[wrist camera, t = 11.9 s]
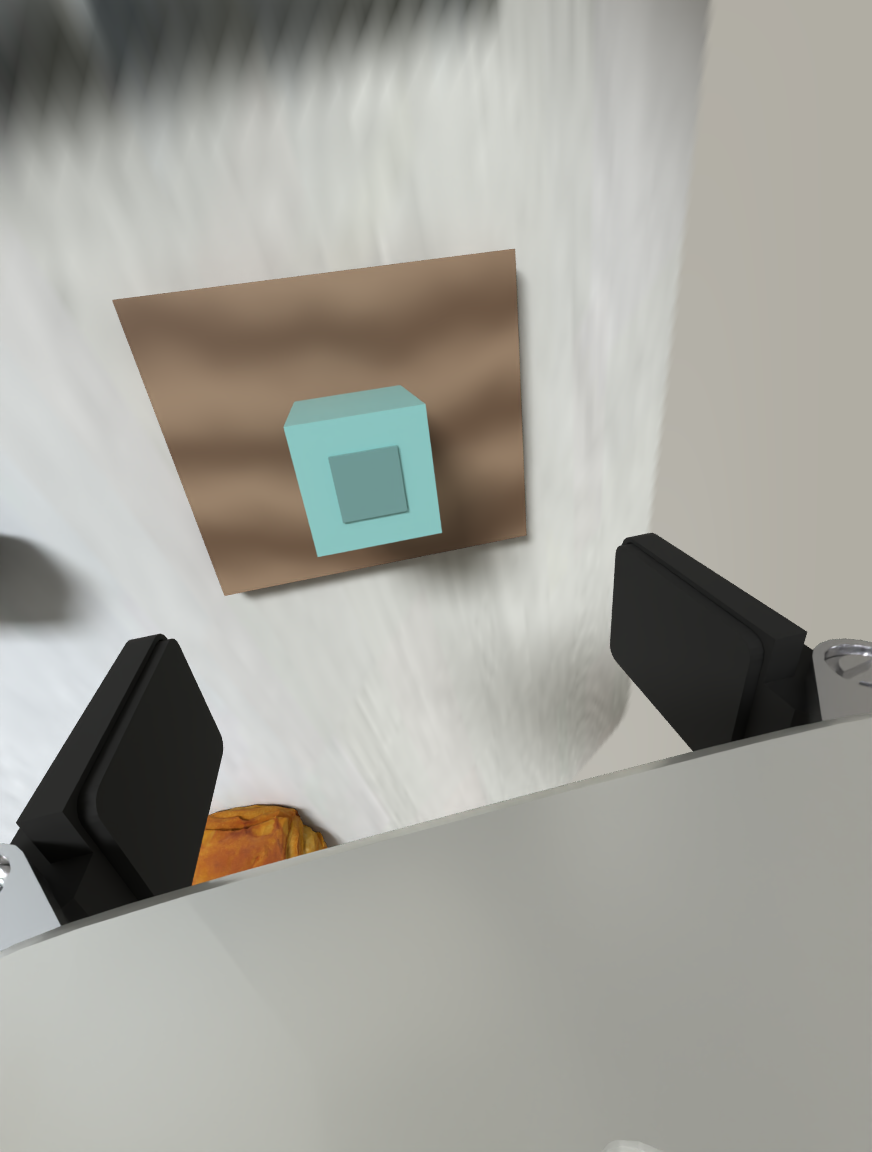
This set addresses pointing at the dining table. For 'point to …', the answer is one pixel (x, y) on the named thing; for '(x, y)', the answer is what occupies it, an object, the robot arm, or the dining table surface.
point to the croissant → (252, 840)
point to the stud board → (326, 368)
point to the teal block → (364, 468)
